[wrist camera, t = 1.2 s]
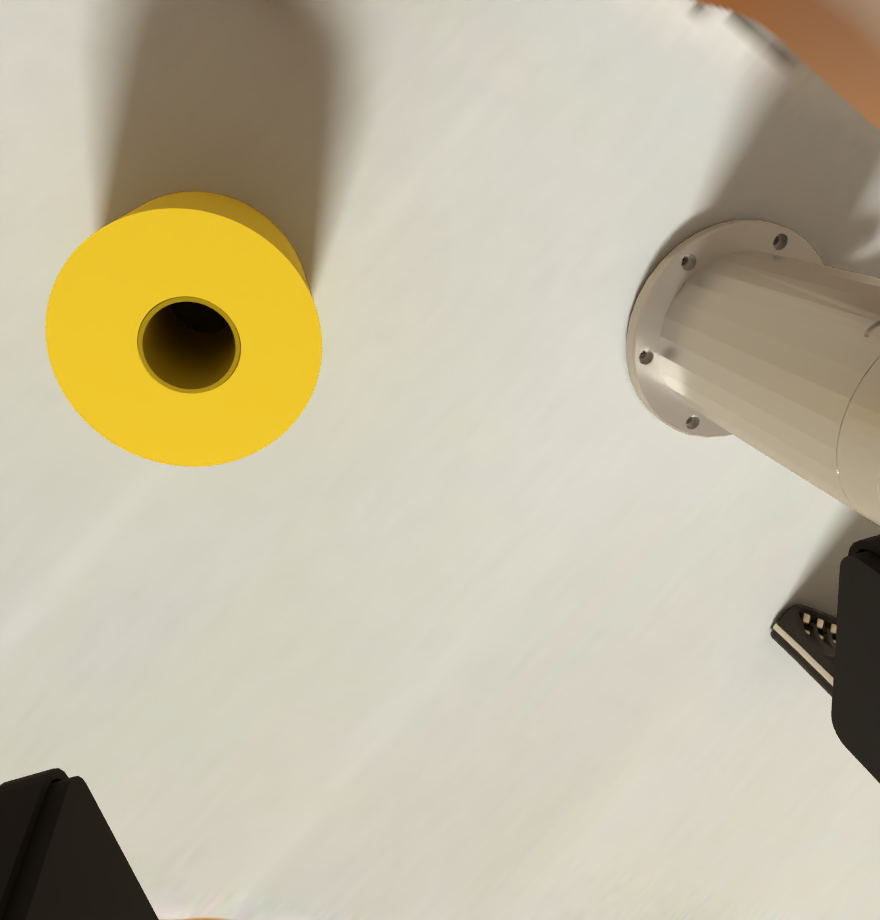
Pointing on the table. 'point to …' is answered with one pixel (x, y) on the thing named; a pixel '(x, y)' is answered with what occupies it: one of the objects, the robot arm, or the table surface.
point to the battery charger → (809, 641)
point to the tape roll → (185, 331)
